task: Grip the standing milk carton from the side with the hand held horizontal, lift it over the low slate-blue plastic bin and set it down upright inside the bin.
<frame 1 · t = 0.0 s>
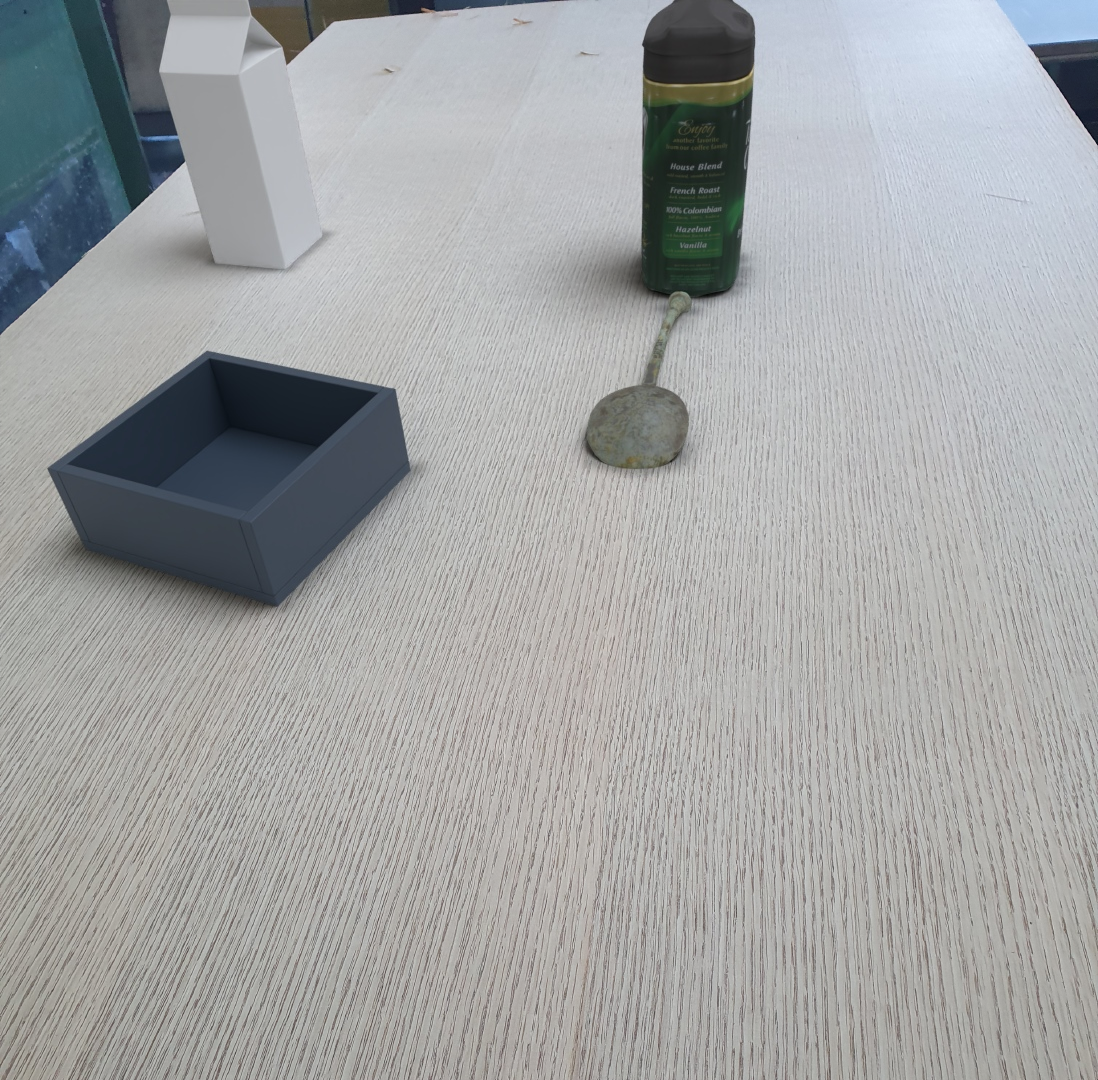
milk carton: (270, 254, 95), on the table
bin: (253, 511, 67), on the table
coffee jar: (691, 277, 86), on the table
soupspoon: (657, 387, 75), on the table
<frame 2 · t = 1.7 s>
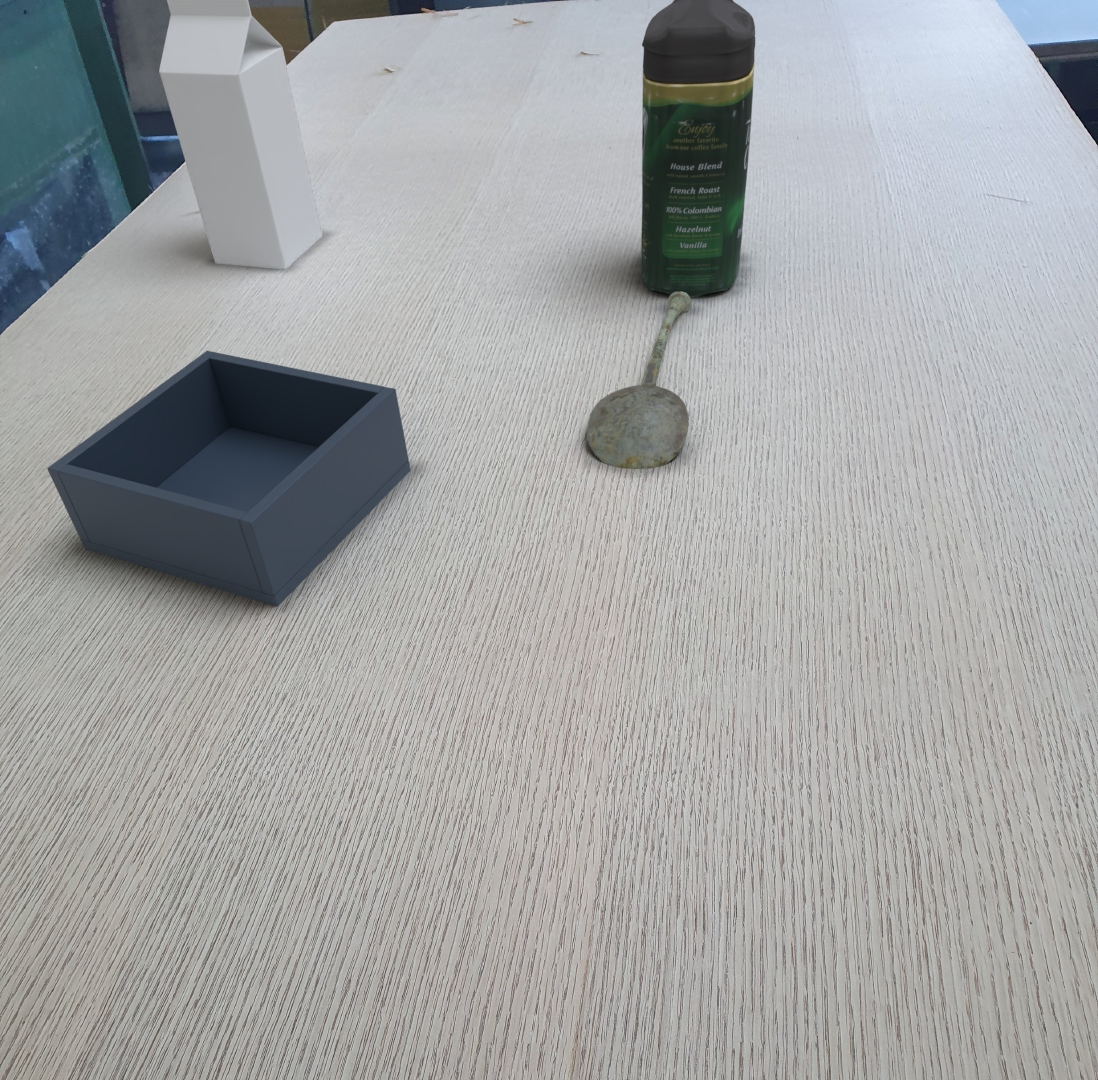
nothing on the table moved.
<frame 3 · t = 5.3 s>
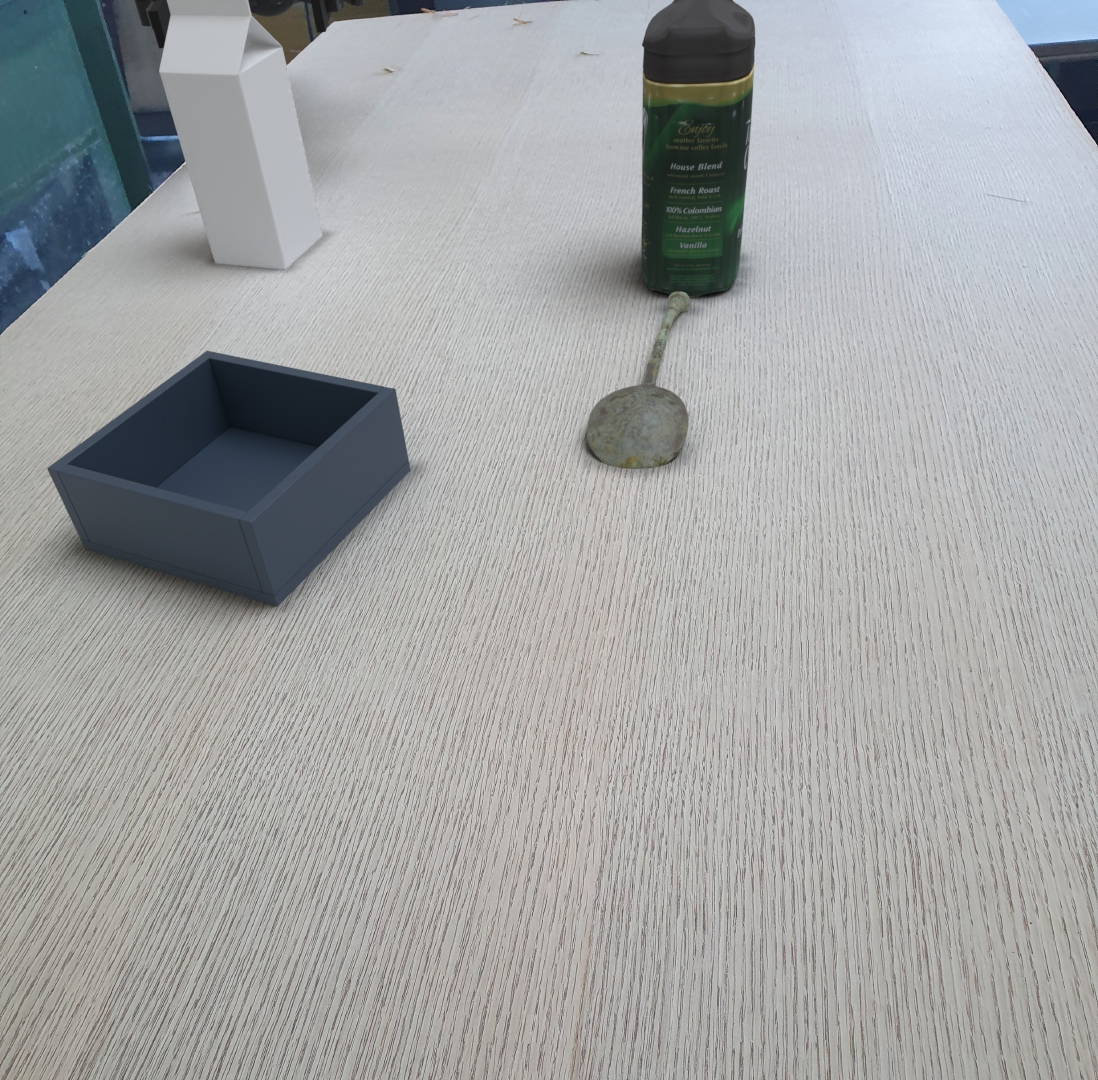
hand: (237, 21, 90), 15 cm above the table, tool horizontal, fingers open, 13 cm apart
nothing on the table moved.
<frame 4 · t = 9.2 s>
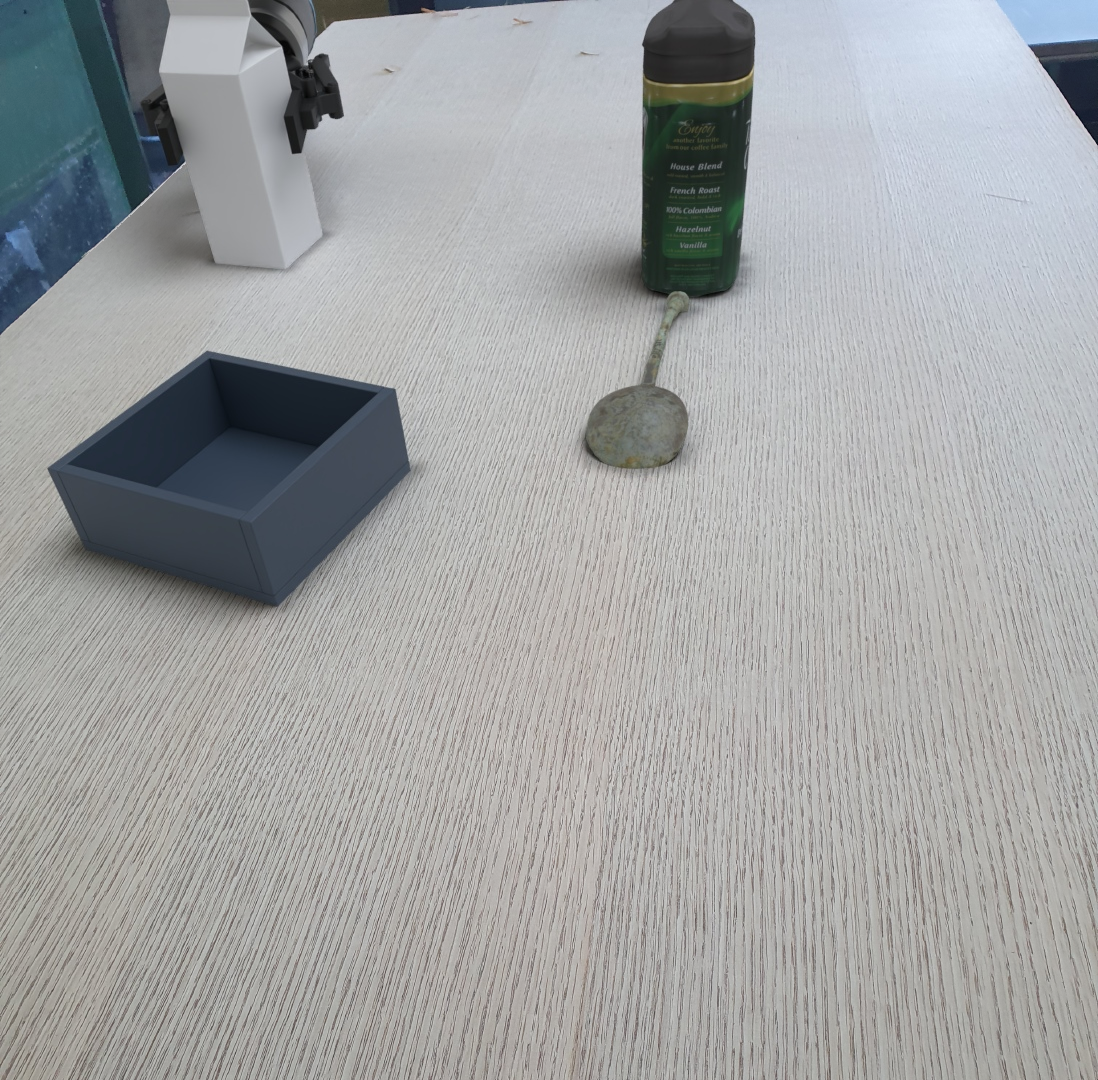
hand: (230, 141, 84), 10 cm above the table, tool horizontal, fingers closed on milk carton, 9 cm apart
milk carton: (271, 254, 95), on the table, touching gripper
everything else where it was.
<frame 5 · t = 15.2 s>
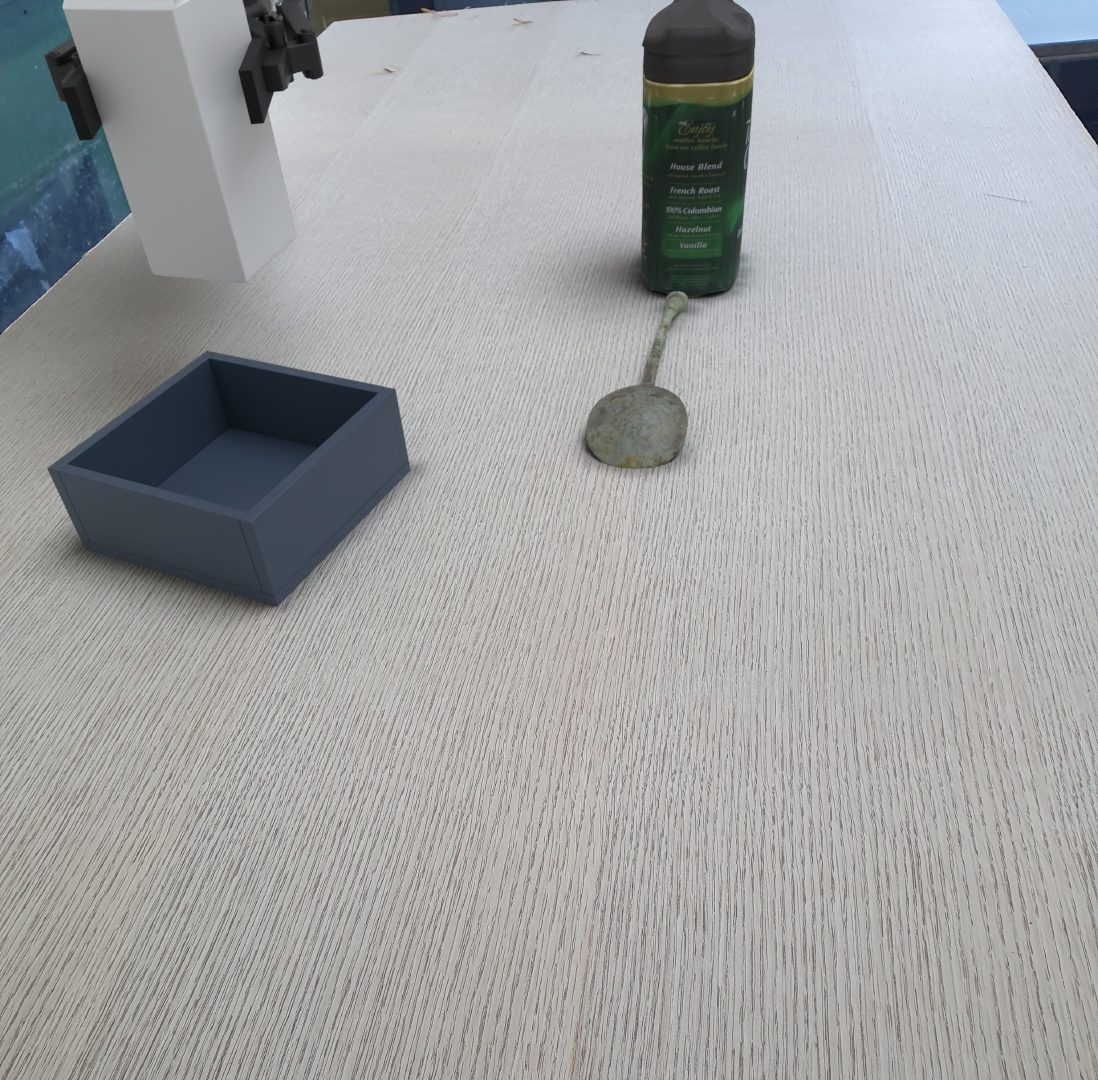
hand: (164, 105, 60), 20 cm above the table, tool horizontal, fingers closed on milk carton, 9 cm apart
milk carton: (227, 261, 71), point 9 cm above the table, touching gripper
everything else where it was.
when the fingers open (11 cm above the table, at t = 21.3 s): milk carton stays where it is, resting on bin.
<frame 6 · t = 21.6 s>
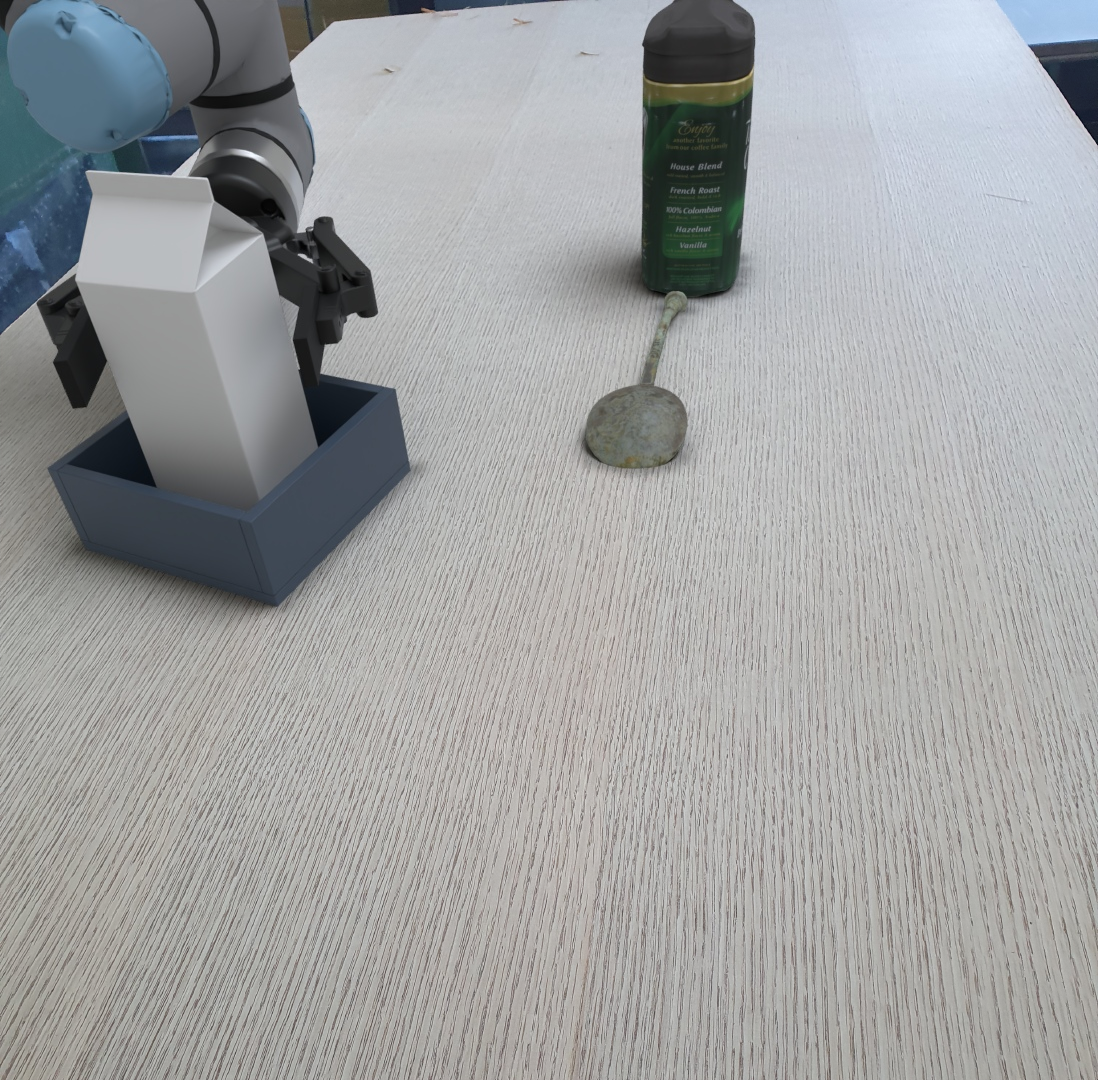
hand: (187, 374, 57), 11 cm above the table, tool horizontal, fingers open, 12 cm apart
milk carton: (250, 501, 67), point 1 cm above the table, touching bin
everything else where it was.
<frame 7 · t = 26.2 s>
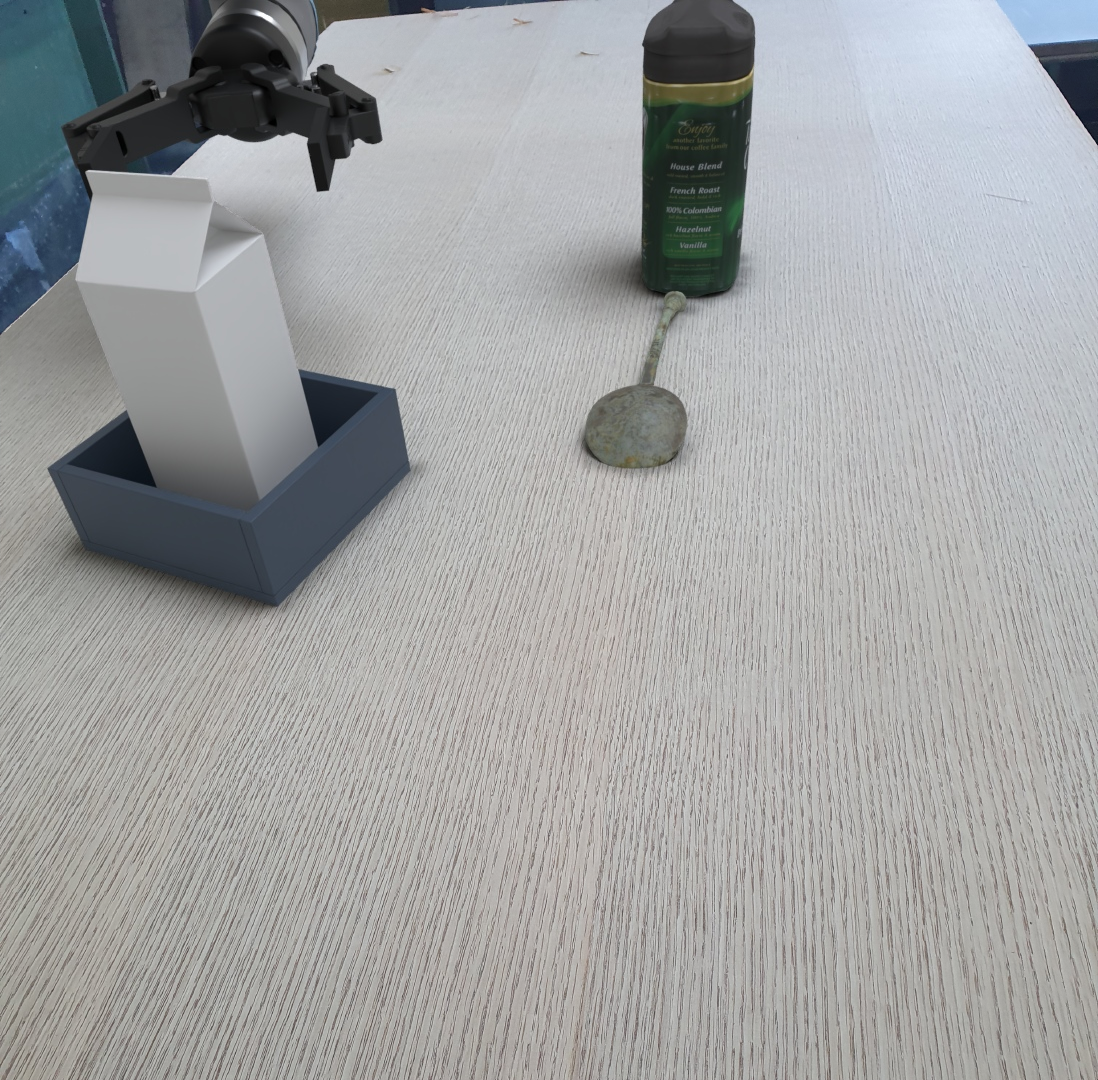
hand: (204, 178, 64), 16 cm above the table, tool horizontal, fingers open, 13 cm apart
nothing on the table moved.
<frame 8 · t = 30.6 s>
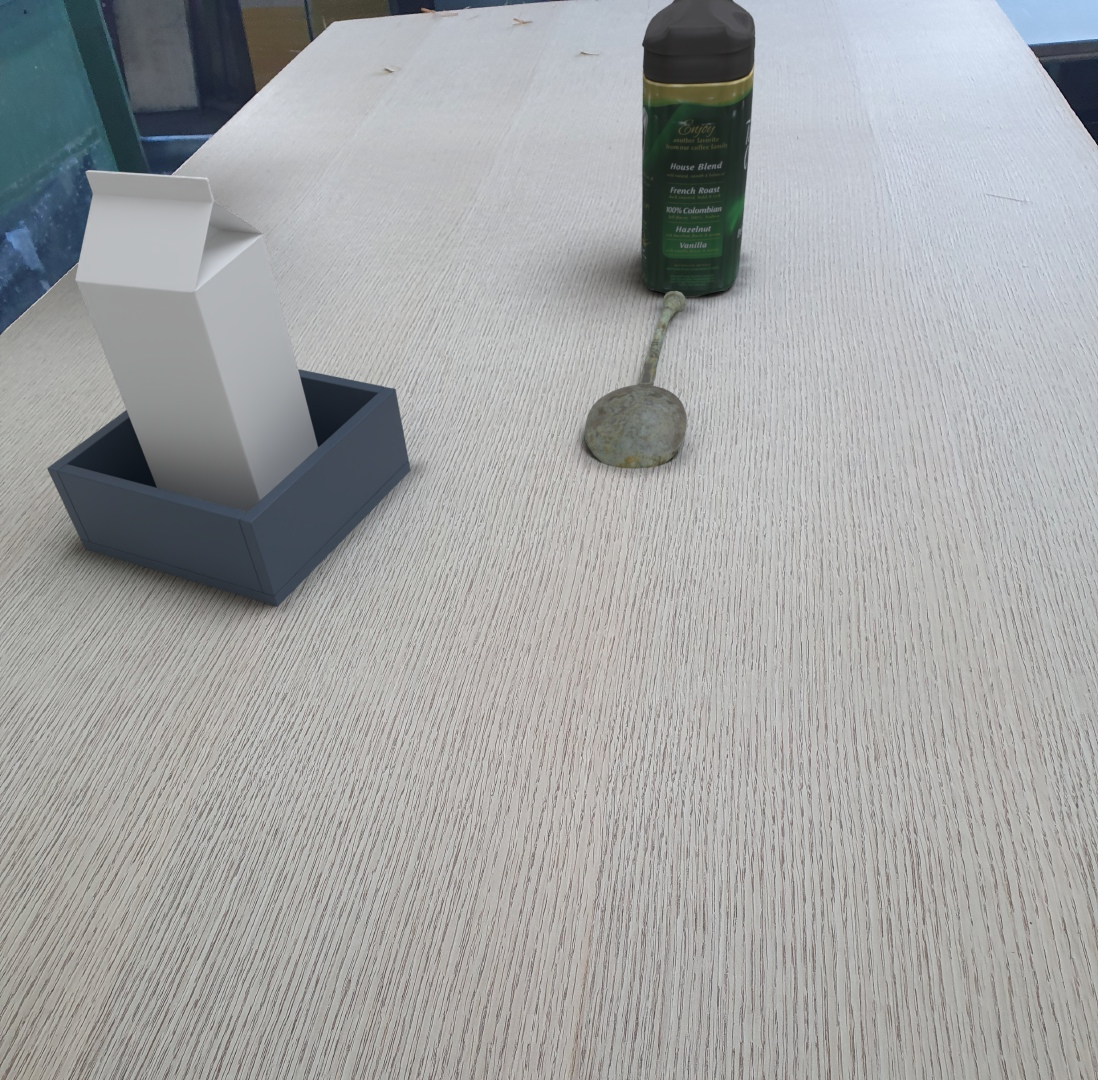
nothing on the table moved.
at the end: milk carton inside the target area in the bin (0.0 cm from its centre), point 0.8 cm above the bin's base; milk carton tilted 0°; the gripper is holding nothing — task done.
